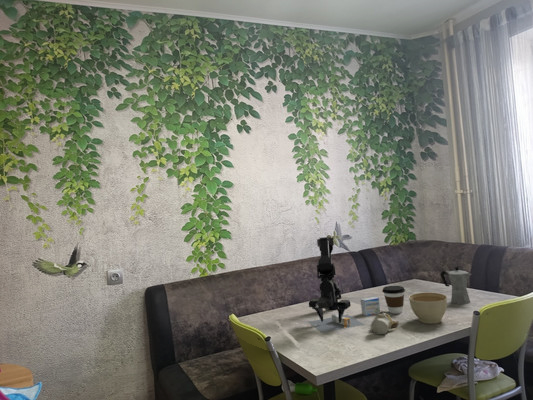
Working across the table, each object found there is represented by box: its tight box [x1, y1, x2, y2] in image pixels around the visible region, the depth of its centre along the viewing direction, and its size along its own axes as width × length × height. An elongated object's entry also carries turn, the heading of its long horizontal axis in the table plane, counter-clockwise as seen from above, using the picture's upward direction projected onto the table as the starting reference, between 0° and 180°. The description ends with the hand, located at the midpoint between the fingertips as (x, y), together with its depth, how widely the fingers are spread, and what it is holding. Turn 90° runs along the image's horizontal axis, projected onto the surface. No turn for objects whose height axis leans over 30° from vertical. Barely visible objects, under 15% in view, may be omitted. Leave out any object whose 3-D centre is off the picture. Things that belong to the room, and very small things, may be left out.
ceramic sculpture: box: [370, 311, 399, 335], centre depth 173 cm, size 11×9×15 cm
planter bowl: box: [408, 291, 448, 325], centre depth 179 cm, size 16×16×11 cm
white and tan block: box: [331, 313, 351, 326], centre depth 184 cm, size 11×4×3 cm, turn 30°
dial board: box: [308, 314, 365, 334], centre depth 186 cm, size 18×21×2 cm
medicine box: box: [360, 296, 381, 317], centre depth 195 cm, size 8×4×9 cm, turn 105°
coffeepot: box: [439, 266, 472, 305], centre depth 203 cm, size 15×9×18 cm, turn 44°
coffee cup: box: [382, 285, 406, 315], centre depth 197 cm, size 11×11×12 cm
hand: (331, 322), depth 183 cm, fingers open, 8 cm apart
